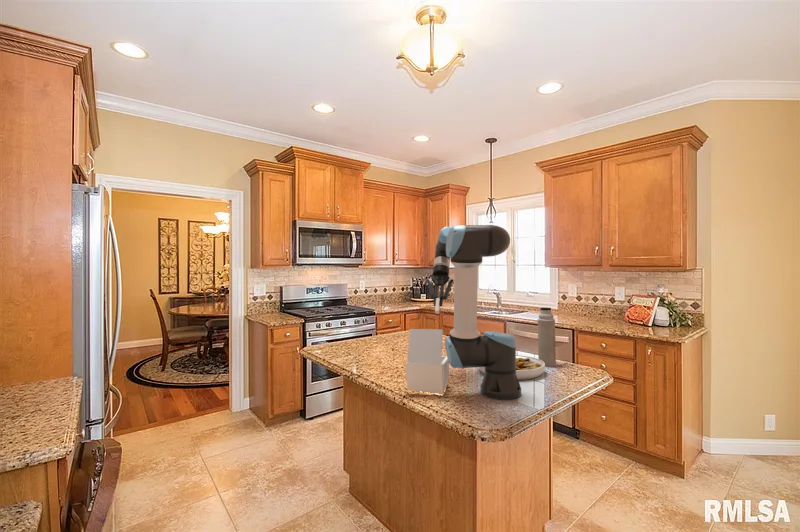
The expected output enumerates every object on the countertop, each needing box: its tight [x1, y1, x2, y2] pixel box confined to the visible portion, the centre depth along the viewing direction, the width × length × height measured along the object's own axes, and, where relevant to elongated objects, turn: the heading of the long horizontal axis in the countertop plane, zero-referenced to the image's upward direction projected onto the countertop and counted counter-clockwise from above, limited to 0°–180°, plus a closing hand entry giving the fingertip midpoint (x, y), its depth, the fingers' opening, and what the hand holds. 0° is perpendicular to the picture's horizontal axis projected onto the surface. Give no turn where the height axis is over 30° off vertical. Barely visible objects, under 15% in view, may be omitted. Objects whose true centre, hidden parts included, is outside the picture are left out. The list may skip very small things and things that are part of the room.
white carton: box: [404, 355, 450, 394], centre depth 154 cm, size 15×15×12 cm
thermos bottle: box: [537, 307, 557, 368], centre depth 186 cm, size 8×8×28 cm
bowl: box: [477, 354, 546, 381], centre depth 176 cm, size 30×30×8 cm
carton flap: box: [406, 328, 444, 364], centre depth 149 cm, size 13×13×1 cm
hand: (437, 312), depth 168 cm, fingers closed
